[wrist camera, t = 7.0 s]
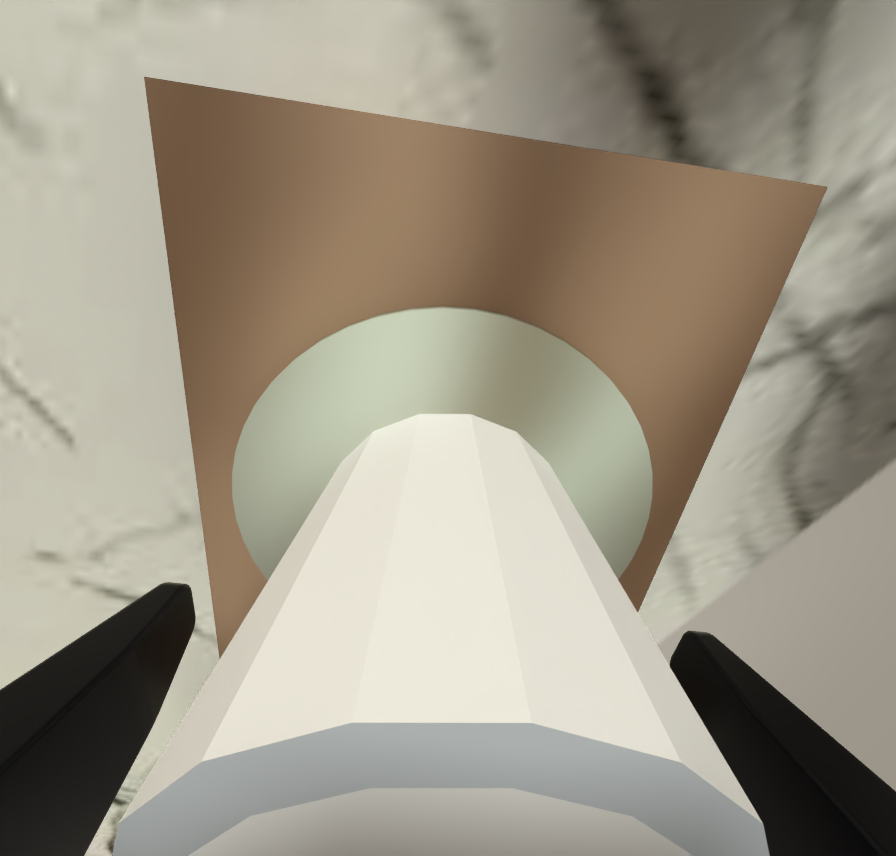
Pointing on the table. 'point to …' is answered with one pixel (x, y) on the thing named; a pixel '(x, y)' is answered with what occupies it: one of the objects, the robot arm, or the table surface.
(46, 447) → the table surface
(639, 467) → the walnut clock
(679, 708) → the white cup
